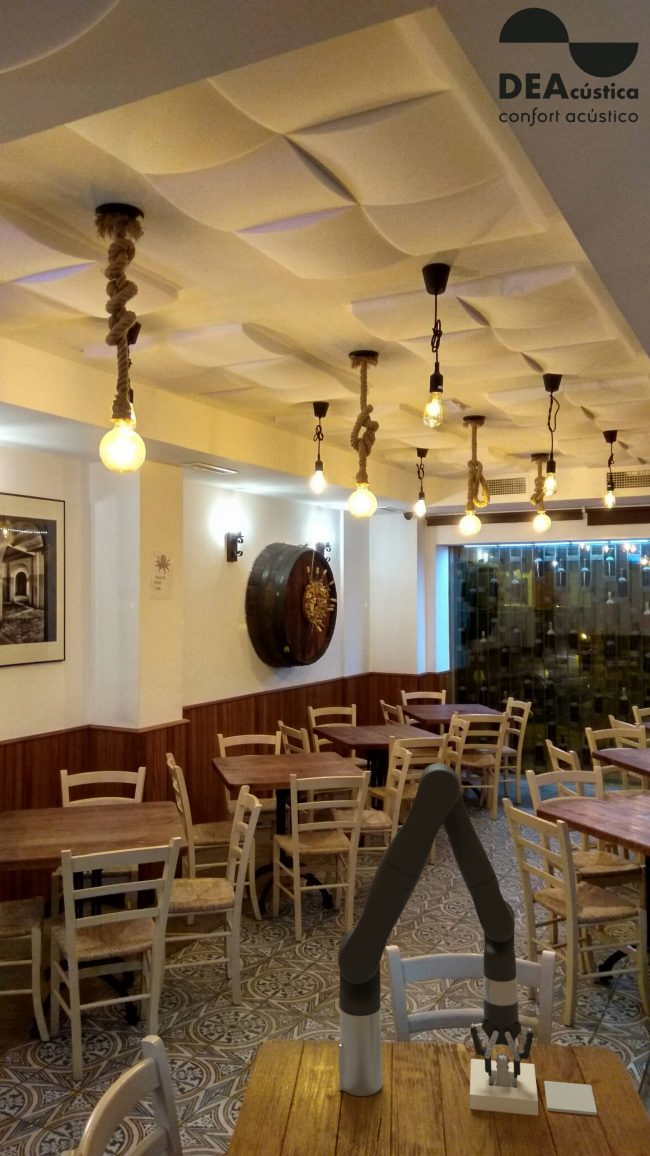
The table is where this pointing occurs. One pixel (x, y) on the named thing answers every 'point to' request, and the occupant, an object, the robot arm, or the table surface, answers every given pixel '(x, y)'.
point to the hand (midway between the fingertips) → (502, 1074)
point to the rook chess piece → (502, 1071)
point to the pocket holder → (503, 1089)
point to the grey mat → (570, 1098)
